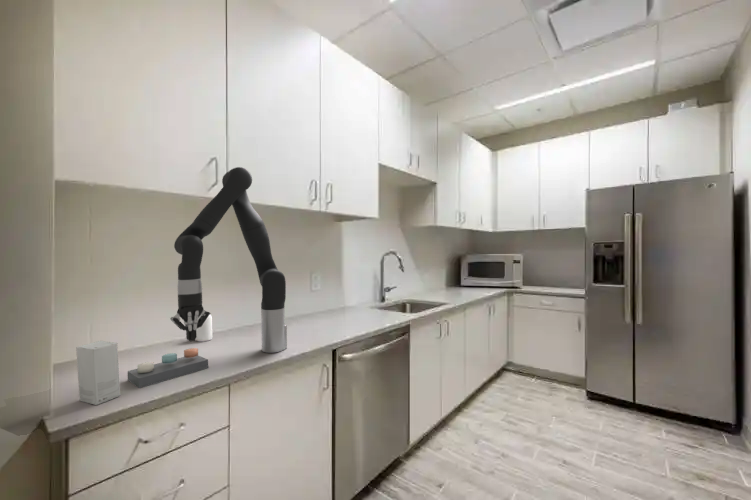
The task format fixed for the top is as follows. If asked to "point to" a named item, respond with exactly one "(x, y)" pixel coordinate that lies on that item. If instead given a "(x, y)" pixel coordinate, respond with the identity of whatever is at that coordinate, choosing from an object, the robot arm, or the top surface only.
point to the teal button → (169, 358)
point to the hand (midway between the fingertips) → (191, 340)
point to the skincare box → (98, 372)
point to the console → (167, 371)
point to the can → (205, 330)
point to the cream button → (145, 367)
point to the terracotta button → (190, 352)
